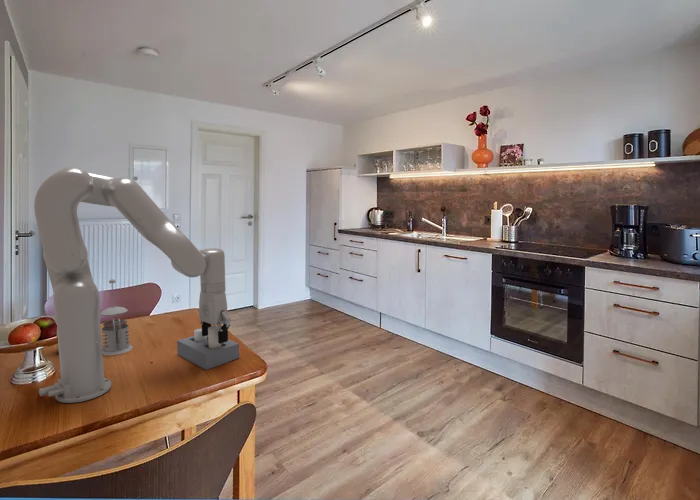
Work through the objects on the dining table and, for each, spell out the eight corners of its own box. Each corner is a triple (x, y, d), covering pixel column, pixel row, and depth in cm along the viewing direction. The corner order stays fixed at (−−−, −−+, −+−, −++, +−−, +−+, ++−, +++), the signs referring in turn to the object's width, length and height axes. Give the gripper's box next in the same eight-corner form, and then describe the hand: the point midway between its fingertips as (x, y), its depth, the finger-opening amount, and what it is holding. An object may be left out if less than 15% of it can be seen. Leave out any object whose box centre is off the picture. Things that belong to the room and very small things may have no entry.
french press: (130, 342, 143) (126, 275, 139) (135, 352, 133) (131, 281, 130) (99, 348, 137) (93, 278, 134) (101, 359, 128) (96, 284, 124)
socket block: (206, 369, 121) (205, 345, 120) (177, 354, 132) (176, 331, 131) (239, 358, 130) (238, 335, 129) (210, 344, 141) (209, 323, 140)
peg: (213, 360, 125) (212, 330, 124) (206, 357, 128) (205, 327, 127) (224, 356, 128) (223, 327, 127) (217, 353, 131) (216, 324, 130)
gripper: (188, 285, 128) (190, 335, 130) (217, 293, 117) (219, 348, 119) (209, 281, 133) (211, 330, 136) (239, 289, 122) (240, 342, 125)
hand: (214, 338), depth 127 cm, fingers open, 9 cm apart
